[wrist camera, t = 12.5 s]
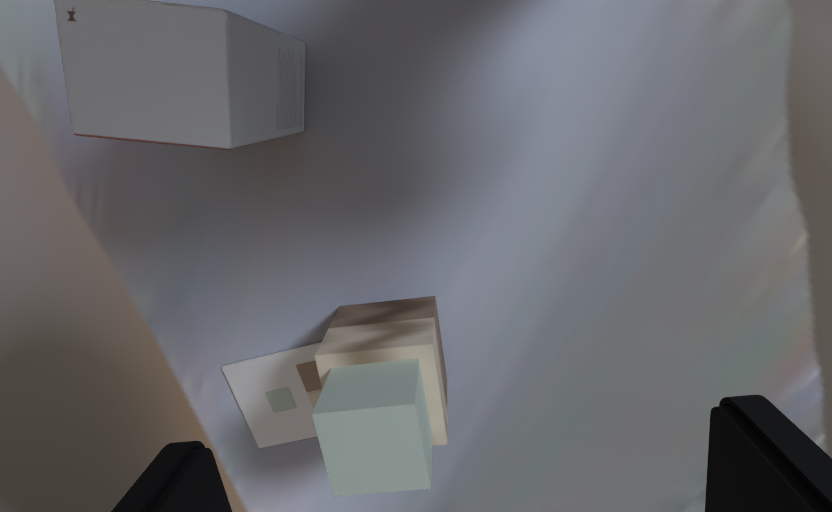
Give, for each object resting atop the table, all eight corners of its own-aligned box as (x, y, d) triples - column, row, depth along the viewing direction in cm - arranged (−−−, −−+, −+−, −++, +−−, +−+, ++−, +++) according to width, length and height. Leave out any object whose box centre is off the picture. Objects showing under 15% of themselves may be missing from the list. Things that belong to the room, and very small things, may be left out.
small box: (200, 124, 35) (67, 135, 23) (195, 31, 33) (46, -12, 21) (307, 134, 35) (232, 151, 23) (308, 41, 33) (226, 4, 21)
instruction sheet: (349, 335, 40) (348, 336, 40) (380, 421, 42) (380, 423, 42) (222, 365, 42) (220, 367, 41) (259, 447, 44) (258, 449, 44)
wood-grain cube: (434, 296, 38) (432, 344, 31) (446, 380, 41) (447, 444, 33) (339, 306, 39) (314, 355, 31) (356, 388, 41) (337, 453, 34)
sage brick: (419, 357, 31) (414, 403, 26) (432, 432, 33) (430, 488, 28) (331, 367, 32) (311, 414, 27) (349, 440, 33) (333, 496, 29)
